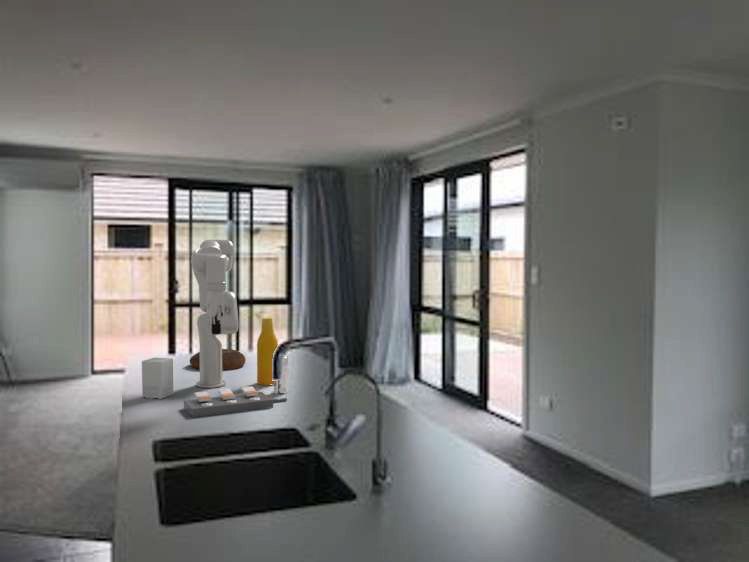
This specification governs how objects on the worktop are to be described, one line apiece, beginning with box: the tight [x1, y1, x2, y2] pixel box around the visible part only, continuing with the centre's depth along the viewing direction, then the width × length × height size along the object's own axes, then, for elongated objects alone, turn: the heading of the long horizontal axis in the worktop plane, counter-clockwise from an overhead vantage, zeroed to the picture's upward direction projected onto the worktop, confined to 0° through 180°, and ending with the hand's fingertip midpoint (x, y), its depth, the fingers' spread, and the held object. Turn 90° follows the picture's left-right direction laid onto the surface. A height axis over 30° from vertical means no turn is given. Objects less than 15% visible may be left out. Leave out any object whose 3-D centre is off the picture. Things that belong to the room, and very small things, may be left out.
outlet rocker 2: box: [240, 386, 259, 397], centre depth 242 cm, size 7×4×1 cm, turn 29°
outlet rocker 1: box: [218, 387, 236, 400], centre depth 238 cm, size 7×4×1 cm, turn 29°
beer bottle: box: [256, 317, 279, 386], centre depth 277 cm, size 9×9×29 cm
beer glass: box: [272, 355, 290, 394], centre depth 261 cm, size 7×7×15 cm
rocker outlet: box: [194, 390, 211, 402], centre depth 234 cm, size 7×4×1 cm, turn 29°
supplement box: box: [141, 357, 174, 400], centre depth 253 cm, size 9×9×15 cm
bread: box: [189, 348, 247, 371], centre depth 318 cm, size 28×27×9 cm
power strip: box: [183, 391, 288, 418], centre depth 238 cm, size 14×38×4 cm, turn 119°
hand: (216, 333), depth 244 cm, fingers closed
